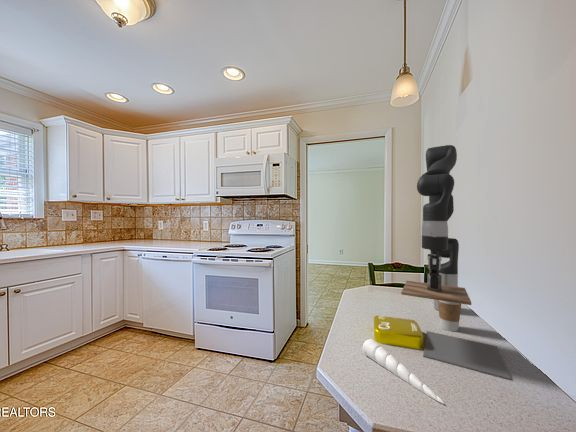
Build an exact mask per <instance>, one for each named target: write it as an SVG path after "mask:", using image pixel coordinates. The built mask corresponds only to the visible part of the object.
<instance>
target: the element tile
mask: <svg viewBox="0 0 576 432" xmlns="http://www.w3.org/2000/svg"><path fill="white" fill-rule="evenodd" d="M373 340H374V341H375V342H377V343H378V344H383V345H388V346H389V345H390V346H395V347H401V348H406V349H412V350H424V334H423V332H422V330H421V328H420V326H419V324H418V322H417V321H415V320H414V319H407V318H400V317H394V316H393V317H390V316H385V315H375V316H373Z"/></svg>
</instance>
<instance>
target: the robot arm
mask: <svg viewBox="0 0 576 432" xmlns="http://www.w3.org/2000/svg"><path fill="white" fill-rule="evenodd" d="M457 154H458V153H457V148H456V147H455V145H452V144H447V145H446V144H445V145H440V146H432V147H428V148H427V149H426V152H425V164H426V172H425V173H423V174H422V175H421V176H420V177H419V178H418V180H417V182H416V191H417V192H418V194H419V195H421V196H422V197H423V196H424V197H428V203H426V204H424V205H423V207H422V226H421V248H422V249H424V250H429V251H430V253H428V254H427V261H428V270H429V275H430V287H431V288H433V289H438V277H439V274H440V275H442V281H441V285H446V286H454V287H459V281H458V280H459V279H458V277H459V272H458V271H459V270H458V269H459V268H458V267H459V265H458V263H459V251H460V249H459V248H460V245H459V240H458V239H457V238H453V237H451V238H450V237H449V225H448V221H449V220H450V219H451V217H452V215H453V214H454V211H455V210H454V209H455V207H454V205H455V204H454V196H453V190H454V187H455V179H454V177H453V175H452V174H450V172H451V171H452V170H453V168H454V167H455V165H456V163H457V159H458V158H457V157H458V155H457ZM442 258H444V259H449V260H448V261H446V262H444V263H441V262H442V261H443V260H442ZM433 308H434V309H435V310H437V311H439V309H438V300H434V299H433Z"/></svg>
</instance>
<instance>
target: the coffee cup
mask: <svg viewBox="0 0 576 432" xmlns="http://www.w3.org/2000/svg"><path fill="white" fill-rule="evenodd" d="M438 309H439V310H438V316H439V327H440V328H441V329H443V330H446V331H449V332H458V331H459V329H460V328H459V326H460V317H461V311H462V304H460V303H454V302H447V301H441V300H438Z"/></svg>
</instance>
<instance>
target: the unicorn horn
mask: <svg viewBox="0 0 576 432" xmlns="http://www.w3.org/2000/svg"><path fill="white" fill-rule="evenodd" d="M362 352H363V354H364V356H366V357H368V358H369V359H371V360H372V361H374V362H376V363H377V364H378V365H380V366H382V367H383V368H385V369H386V370H388V371H389V372H390V373H392V374H394V375H395V376H396V377H398V378H400V379H401V380H403V381H404V382H406V384H409V385H410V386H412V387H413V388H414V389H417V391H420V392H421V393H423V394H425V395H426V396H428V397H429V398H431V399H433V400H435V402H436V401H437V402H439V403H441V404H442V405H445V402H444V401H443V400H442V399H441V398H440V397H439V396H438V395H436V393H435V392H434V391H433V390H432V389H431V388H430V387H428V385H426V384H425V383H423V381H422V380H421V379H420V378H418V377H417V376H416V375H415V374H414V373H413V372H411V371H410V370H409V369H408V368H407V366H405V365H404V364H402V363H400V361H399V360H398V359H396V358H395V357H394V356H393V355H392V354H390V353H389V352H388V351H387V350H386V349H385V348H384V347H382V346H381V345H380V343H378V342H376V341H375V340H374V338H373V339H372V338H368V339H366V340H365V341H364V342H363V344H362Z"/></svg>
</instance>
